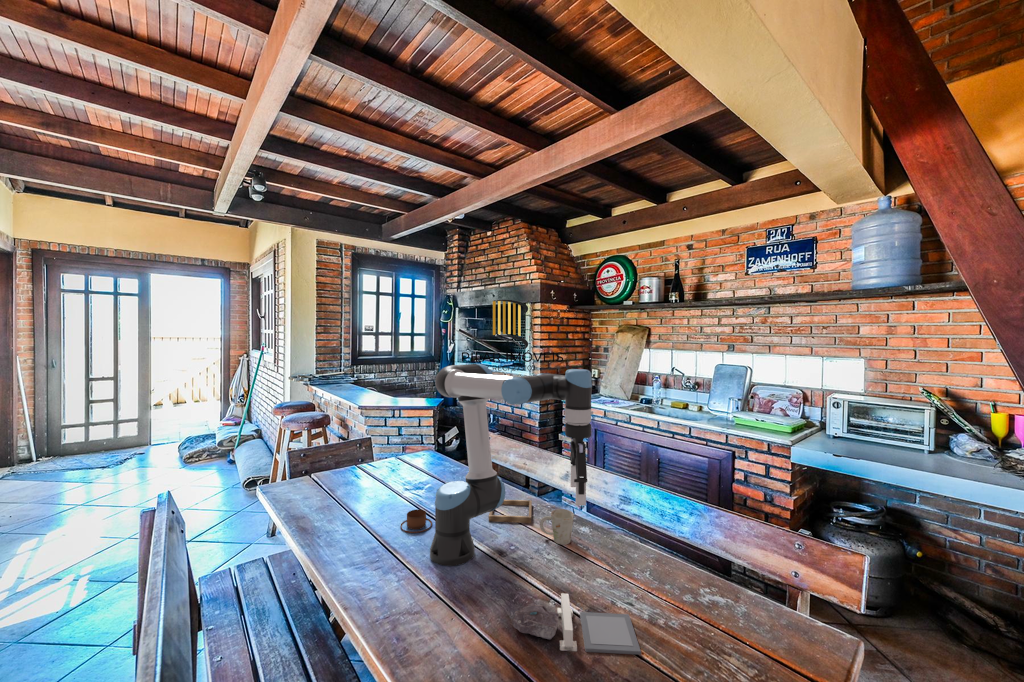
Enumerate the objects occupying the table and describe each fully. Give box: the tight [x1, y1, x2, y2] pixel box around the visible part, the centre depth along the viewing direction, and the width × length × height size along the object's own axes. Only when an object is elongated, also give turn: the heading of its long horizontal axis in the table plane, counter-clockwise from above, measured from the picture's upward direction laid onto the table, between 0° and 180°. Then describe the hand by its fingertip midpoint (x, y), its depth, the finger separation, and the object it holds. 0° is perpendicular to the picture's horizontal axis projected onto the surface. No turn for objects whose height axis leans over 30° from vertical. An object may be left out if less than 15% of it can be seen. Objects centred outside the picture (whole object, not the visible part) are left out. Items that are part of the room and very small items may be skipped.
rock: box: [512, 604, 560, 640], centre depth 105 cm, size 8×11×5 cm
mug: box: [539, 508, 575, 545], centre depth 152 cm, size 8×13×10 cm, turn 78°
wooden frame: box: [488, 499, 533, 524], centre depth 173 cm, size 17×17×3 cm
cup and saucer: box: [400, 508, 433, 534], centre depth 160 cm, size 12×12×6 cm
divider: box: [556, 592, 578, 652], centre depth 105 cm, size 4×14×5 cm, turn 176°
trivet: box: [579, 611, 642, 656], centre depth 104 cm, size 13×13×1 cm
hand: (577, 495), depth 120 cm, fingers open, 13 cm apart
